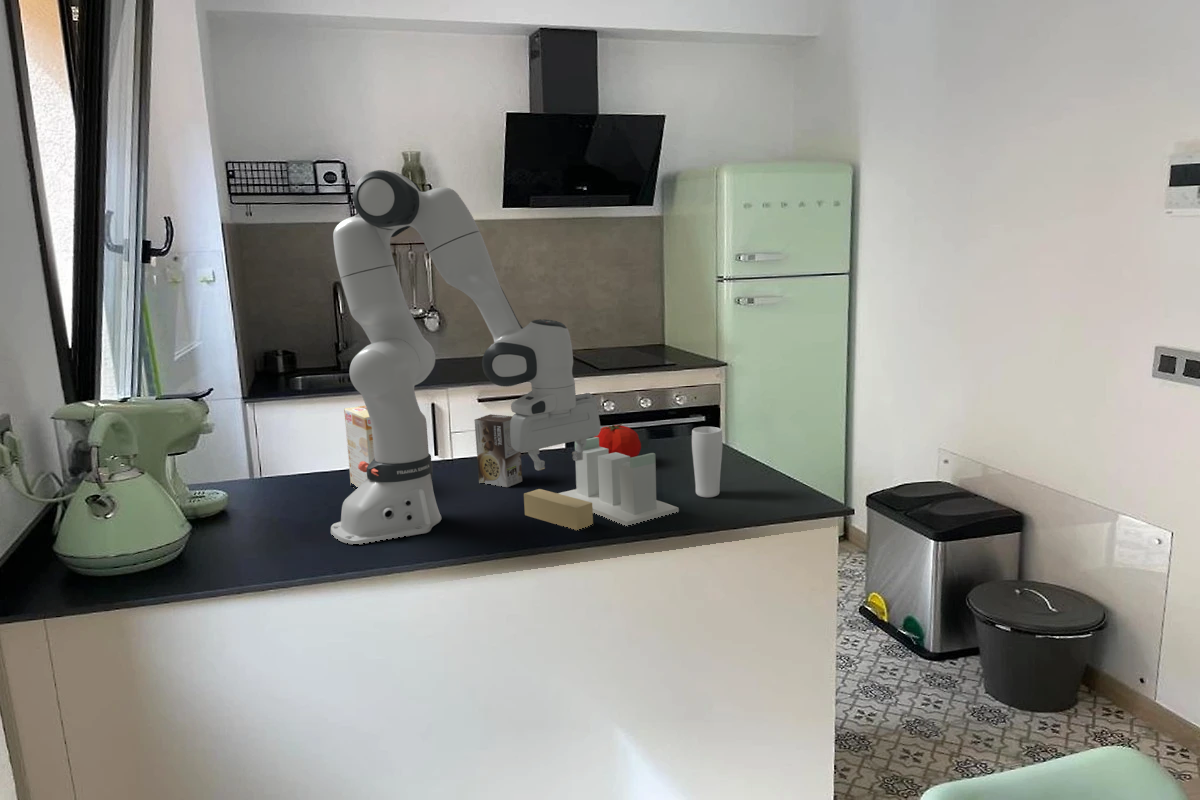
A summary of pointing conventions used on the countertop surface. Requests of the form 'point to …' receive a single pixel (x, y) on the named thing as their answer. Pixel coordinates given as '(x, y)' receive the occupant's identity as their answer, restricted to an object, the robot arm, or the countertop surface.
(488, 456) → the coffee box
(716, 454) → the drinking glass
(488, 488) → the countertop surface
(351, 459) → the coffeecake box
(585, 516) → the tan wooden plank
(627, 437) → the tomato
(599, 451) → the display stand
